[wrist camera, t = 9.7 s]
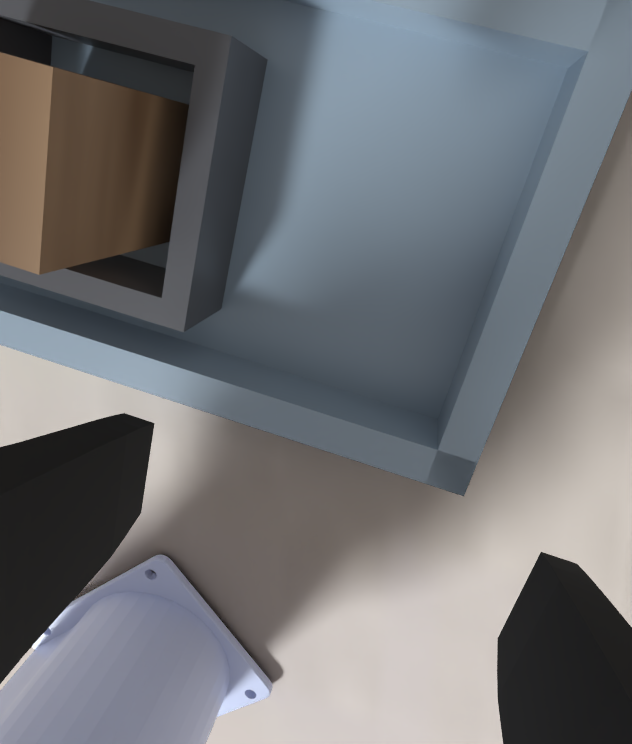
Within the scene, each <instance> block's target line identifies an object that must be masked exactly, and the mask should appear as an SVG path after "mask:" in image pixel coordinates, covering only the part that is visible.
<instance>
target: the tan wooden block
mask: <svg viewBox="0 0 632 744" xmlns="http://www.w3.org/2000/svg"><path fill="white" fill-rule="evenodd" d="M188 109H189V104H185V103H181V102H178V101H174V100H171V99H167V98H164V97H160V96H157V95H153V94H149V93H146V92H142V91H139V90H135V89H132V88H128V87H125V86H121V85H117V84H114V83H110V82H107V81H103V80H100V79H96V78H92V77H89V76H85V75H82V74H78V73H75V72H71V71H67V70H64V69H60V68H57V67H53V66H49V65H46V64H42V63H38V62H35V61H31V60H28V59H24V58H20V57H17V56H13V55H10V54H6V53H2V52H0V262H1V263H4V264H7V265H10V266H14V267H17V268H20V269H23V270H26V271H29V272H32V273H35V274H38V275H40V274H44V273H48V272H52V271H56V270H60V269H64V268H68V267H72V266H76V265H80V264H84V263H88V262H92V261H96V260H100V259H104V258H108V257H112V256H116V255H120V254H123V253H127V252H131V251H135V250H139V249H143V248H147V247H151V246H155V245H159V244H163V243H167V242H170V236H171V229H172V222H173V215H174V208H175V201H176V194H177V187H178V180H179V173H180V166H181V159H182V152H183V145H184V138H185V131H186V124H187V116H188Z"/></svg>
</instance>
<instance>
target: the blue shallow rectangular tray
mask: <svg viewBox="0 0 632 744" xmlns="http://www.w3.org/2000/svg"><path fill="white" fill-rule="evenodd" d="M0 52H2V53H6V54H10V55H13V56H17V57H20V58H24V59H28V60H31V61H35V62H38V63H42V64H46V65H49V66H53V67H57V68H60V69H64V70H67V71H71V72H75V73H78V74H82V75H85V76H89V77H92V78H96V79H100V80H103V81H107V82H110V83H114V84H117V85H121V86H125V87H128V88H132V89H135V90H139V91H142V92H146V93H149V94H153V95H157V96H160V97H164V98H167V99H171V100H174V101H178V102H181V103H185V104H189V109H188V116H187V124H186V131H185V138H184V145H183V152H182V159H181V166H180V173H179V180H178V187H177V194H176V201H175V208H174V215H173V222H172V229H171V236H170V242H167V243H163V244H159V245H155V246H151V247H147V248H143V249H139V250H135V251H131V252H127V253H123V254H120V255H116V256H112V257H108V258H104V259H100V260H96V261H92V262H88V263H84V264H80V265H76V266H72V267H68V268H64V269H60V270H56V271H52V272H48V273H44V274H40V275H38V274H35V273H32V272H29V271H26V270H23V269H20V268H17V267H14V266H10V265H7V264H4V263H1V262H0V345H3V346H6V347H9V348H12V349H15V350H18V351H21V352H24V353H27V354H30V355H33V356H36V357H39V358H42V359H45V360H48V361H52V362H55V363H58V364H61V365H64V366H67V367H70V368H73V369H76V370H79V371H82V372H85V373H88V374H91V375H94V376H97V377H100V378H104V379H107V380H110V381H113V382H116V383H119V384H122V385H125V386H128V387H131V388H134V389H137V390H140V391H143V392H146V393H149V394H153V395H156V396H159V397H162V398H165V399H168V400H171V401H174V402H177V403H180V404H183V405H186V406H189V407H192V408H195V409H198V410H201V411H205V412H208V413H211V414H214V415H217V416H220V417H223V418H226V419H229V420H232V421H235V422H238V423H241V424H244V425H247V426H250V427H254V428H257V429H260V430H263V431H266V432H269V433H272V434H275V435H278V436H281V437H284V438H287V439H290V440H293V441H296V442H299V443H302V444H306V445H309V446H312V447H315V448H318V449H321V450H324V451H327V452H330V453H333V454H336V455H339V456H342V457H345V458H348V459H351V460H355V461H358V462H361V463H364V464H367V465H370V466H373V467H376V468H379V469H382V470H385V471H388V472H391V473H394V474H397V475H400V476H404V477H407V478H410V479H413V480H416V481H419V482H422V483H425V484H428V485H431V486H434V487H437V488H440V489H443V490H446V491H449V492H452V493H456V494H459V495H462V496H464V494H465V492H466V489H467V487H468V485H469V482H470V480H471V477H472V475H473V472H474V470H475V468H476V465H477V463H478V460H479V458H480V456H481V453H482V451H483V448H484V446H485V444H486V441H487V439H488V436H489V434H490V431H491V429H492V427H493V424H494V422H495V419H496V417H497V415H498V412H499V410H500V407H501V405H502V402H503V400H504V398H505V395H506V393H507V390H508V388H509V386H510V383H511V381H512V378H513V376H514V373H515V371H516V369H517V366H518V364H519V361H520V359H521V357H522V354H523V352H524V349H525V347H526V345H527V342H528V340H529V337H530V335H531V332H532V330H533V328H534V325H535V323H536V320H537V318H538V316H539V313H540V311H541V308H542V306H543V303H544V301H545V299H546V296H547V294H548V291H549V289H550V287H551V284H552V282H553V279H554V277H555V274H556V272H557V270H558V267H559V265H560V262H561V260H562V258H563V255H564V253H565V250H566V248H567V246H568V243H569V241H570V238H571V236H572V233H573V231H574V229H575V226H576V224H577V221H578V219H579V217H580V214H581V212H582V209H583V207H584V204H585V202H586V200H587V197H588V195H589V192H590V190H591V188H592V185H593V183H594V180H595V178H596V175H597V173H598V171H599V168H600V166H601V163H602V161H603V159H604V156H605V154H606V151H607V149H608V147H609V144H610V142H611V139H612V137H613V134H614V132H615V130H616V127H617V125H618V122H619V120H620V118H621V115H622V113H623V110H624V108H625V105H626V103H627V101H628V98H629V96H630V93H631V91H632V0H0Z"/></svg>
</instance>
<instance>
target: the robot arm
mask: <svg viewBox="0 0 632 744" xmlns="http://www.w3.org/2000/svg"><path fill="white" fill-rule="evenodd" d="M153 429H154V423H152V422H149V421H146V420H143V419H140V418H137V417H134V416H131V415H128V414H125V413H124V414H119V415H114V416H110V417H106V418H102V419H99V420H95V421H91V422H88V423H85V424H81V425H78V426H74V427H71V428H68V429H64V430H61V431H57V432H54V433H50V434H47V435H43V436H40V437H36V438H33V439H29V440H26V441H23V442H19V443H15V444H11V445H7V446H3V447H0V684H1V682H2V681H3V680H4V679H5V677H6V676H7V675H8V674H9V672H10V671H11V670H12V669H13V668H14V666H15V665H16V664H17V663H18V662H19V660H20V659H21V658H22V657H23V656H24V654H25V653H26V652H27V651H28V650H29V649H30V648H31V647H33V648H34V649H35V650H34V651H33V653H32V654H31V655H30V656H29V657H28V658H27V660H26V661H25V662H24V663H23V664H22V666H21V667H20V668H19V669H18V670H17V671H16V673H15V674H14V675H13V676H12V677H11V678H10V680H9V681H8V682H7V683H6V684H5V686H4V687H3V688H2V689H1V690H0V744H206V742H207V739H208V737H209V735H210V732H211V730H212V727H213V725H214V722H215V720H216V717H218V716H220V715H223V714H226V713H228V712H231V711H234V710H236V709H239V708H242V707H244V706H247V705H249V704H252V703H255V702H257V701H260V700H263V699H265V698H267V697H269V695H270V693H271V690H272V683H271V681H270V680H269V678H268V677H267V676H266V675H265V674H264V672H263V671H262V670H261V669H260V667H259V666H258V665H257V664H256V663H255V661H254V660H253V659H252V658H251V656H250V655H249V654H248V653H247V652H246V650H245V649H244V648H243V647H242V646H241V644H240V643H239V642H238V641H237V639H236V638H235V637H234V636H233V635H232V633H231V632H230V631H229V630H228V628H227V627H226V626H225V625H224V624H223V622H222V621H221V620H220V619H219V618H218V616H217V615H216V614H215V613H214V611H213V610H212V609H211V608H210V607H209V605H208V604H207V603H206V602H205V601H204V599H203V598H202V597H201V596H200V594H199V593H198V592H197V591H196V590H195V588H194V587H193V586H192V585H191V583H190V582H189V581H188V580H187V579H186V577H185V576H184V575H183V574H182V573H181V571H180V570H179V569H178V568H177V566H176V565H175V564H174V563H173V562H172V560H171V559H170V558H168V557H167V556H165V555H156V556H154V557H152V558H150V559H148V560H147V561H145V562H143V563H141V564H139V565H137V566H136V567H134V568H132V569H130V570H128V571H127V572H125V573H123V574H121V575H119V576H117V577H116V578H114V579H112V580H110V581H108V582H107V583H105V584H103V585H101V586H99V587H98V588H96V589H94V590H92V591H90V592H88V593H87V594H85V595H83V596H81V597H79V598H78V599H76V600H74V598H75V597H76V596H77V595H78V594H79V593H80V592H81V591H82V589H83V588H84V587H85V586H86V585H87V584H88V583H89V582H90V580H91V579H92V578H93V577H94V576H95V575H96V574H97V572H98V571H99V570H100V569H101V568H102V567H103V566H104V564H105V563H106V562H107V561H108V560H109V559H110V557H111V556H112V555H113V553H114V552H115V550H116V549H117V548H118V546H119V545H120V543H121V542H122V540H123V539H124V538H125V536H126V535H127V533H128V532H129V530H130V528H131V527H132V525H133V524H134V522H135V521H136V519H137V518H138V516H139V515H140V513H141V509H142V502H143V495H144V489H145V482H146V475H147V469H148V462H149V455H150V449H151V442H152V435H153ZM150 569H151V570H153V571H154V572H155V573H153V572H152V571H151V570H150ZM73 600H74V601H73ZM497 679H498V704H499V713H500V721H501V729H502V737H503V744H632V627H631V626H630V625H629V624H628V623H627V621H626V620H625V619H624V618H623V617H622V615H621V614H620V613H619V612H618V611H617V609H616V608H615V607H614V606H613V604H612V603H611V602H610V601H609V600H608V598H607V597H606V596H605V595H604V594H603V592H602V591H601V590H600V589H599V588H598V587H597V585H596V584H595V583H594V582H593V581H592V580H591V578H590V577H589V576H588V575H587V574H586V573H585V572H584V571H583V570H582V569H581V568H580V567H579V566H578V565H577V564H576V563H573V562H570V561H567V560H564V559H561V558H558V557H555V556H552V555H549V554H546V553H543V552H541V553H540V555H539V557H538V559H537V561H536V563H535V565H534V567H533V569H532V571H531V573H530V575H529V577H528V579H527V581H526V583H525V585H524V587H523V589H522V591H521V593H520V595H519V597H518V599H517V601H516V603H515V605H514V607H513V609H512V611H511V613H510V615H509V617H508V619H507V621H506V623H505V625H504V627H503V629H502V631H501V633H500V635H499V637H498V661H497ZM252 690H253V691H252Z"/></svg>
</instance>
